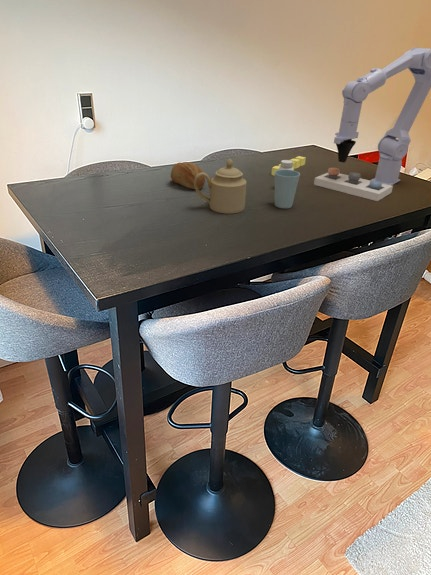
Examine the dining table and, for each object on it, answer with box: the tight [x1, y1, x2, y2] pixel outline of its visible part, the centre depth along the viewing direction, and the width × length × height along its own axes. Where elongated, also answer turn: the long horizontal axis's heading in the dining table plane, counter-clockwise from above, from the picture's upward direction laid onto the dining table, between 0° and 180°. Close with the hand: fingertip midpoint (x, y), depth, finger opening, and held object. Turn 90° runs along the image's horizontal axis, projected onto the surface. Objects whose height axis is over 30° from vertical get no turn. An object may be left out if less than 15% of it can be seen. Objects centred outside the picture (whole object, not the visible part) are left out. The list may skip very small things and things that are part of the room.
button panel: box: [313, 172, 394, 202], centre depth 150 cm, size 12×24×2 cm, turn 49°
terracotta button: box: [327, 167, 341, 180], centre depth 154 cm, size 4×4×4 cm
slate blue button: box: [369, 180, 382, 190], centre depth 145 cm, size 4×4×4 cm
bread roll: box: [170, 161, 206, 190], centre depth 147 cm, size 10×15×8 cm, turn 41°
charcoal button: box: [348, 171, 362, 185], centre depth 149 cm, size 4×4×4 cm
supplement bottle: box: [278, 159, 295, 171], centre depth 146 cm, size 5×5×10 cm
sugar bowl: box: [194, 158, 248, 215], centre depth 127 cm, size 15×11×15 cm
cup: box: [274, 170, 301, 209], centre depth 132 cm, size 8×8×10 cm
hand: (341, 161), depth 150 cm, fingers closed
